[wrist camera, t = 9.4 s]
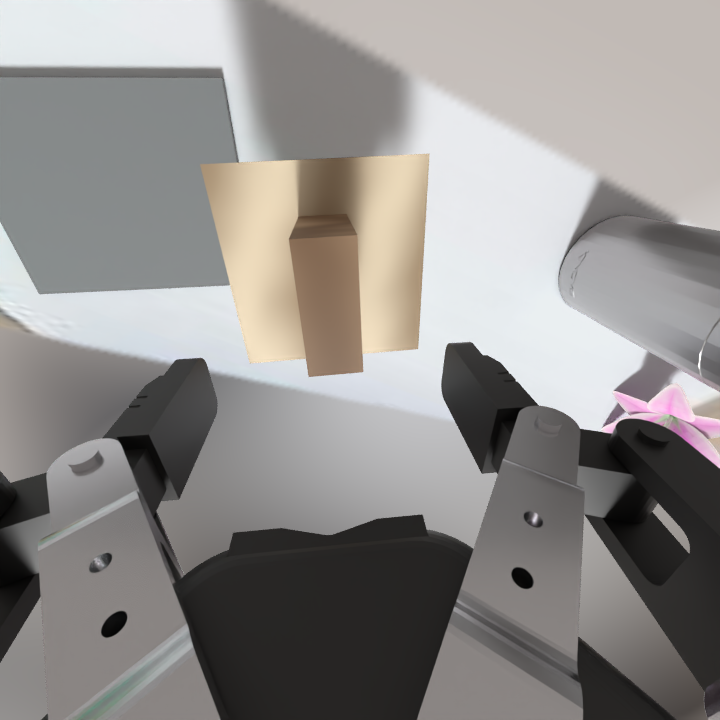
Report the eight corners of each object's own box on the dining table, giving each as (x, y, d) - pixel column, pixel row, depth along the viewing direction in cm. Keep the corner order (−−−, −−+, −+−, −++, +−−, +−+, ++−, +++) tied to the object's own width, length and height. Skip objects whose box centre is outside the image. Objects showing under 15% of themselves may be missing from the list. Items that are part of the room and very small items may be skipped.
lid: (423, 154, 17) (479, 149, 11) (414, 341, 23) (447, 405, 17) (206, 164, 16) (140, 164, 10) (252, 355, 22) (227, 427, 16)
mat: (223, 79, 22) (221, 77, 22) (259, 282, 29) (258, 284, 29) (-70, 78, 21) (-78, 76, 20) (43, 292, 28) (39, 294, 28)
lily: (644, 341, 39) (666, 402, 32) (752, 378, 37) (797, 449, 31) (578, 399, 48) (585, 456, 41) (663, 431, 46) (684, 495, 40)
